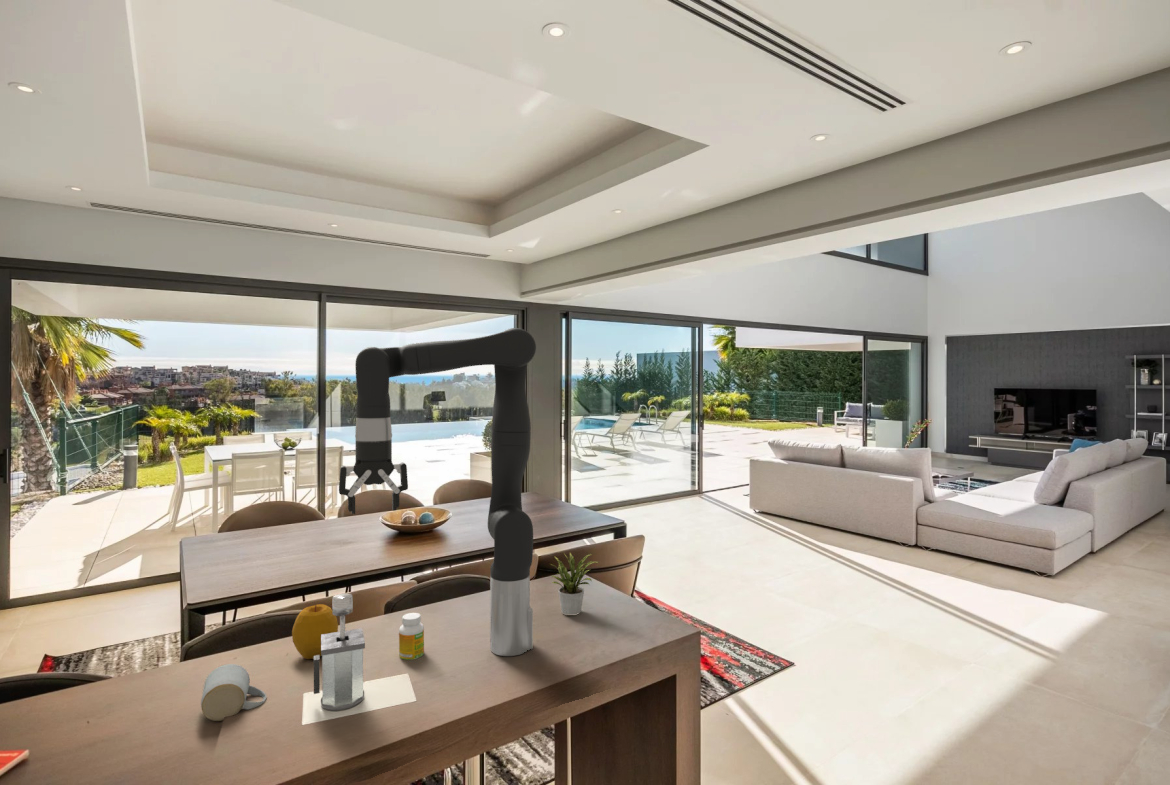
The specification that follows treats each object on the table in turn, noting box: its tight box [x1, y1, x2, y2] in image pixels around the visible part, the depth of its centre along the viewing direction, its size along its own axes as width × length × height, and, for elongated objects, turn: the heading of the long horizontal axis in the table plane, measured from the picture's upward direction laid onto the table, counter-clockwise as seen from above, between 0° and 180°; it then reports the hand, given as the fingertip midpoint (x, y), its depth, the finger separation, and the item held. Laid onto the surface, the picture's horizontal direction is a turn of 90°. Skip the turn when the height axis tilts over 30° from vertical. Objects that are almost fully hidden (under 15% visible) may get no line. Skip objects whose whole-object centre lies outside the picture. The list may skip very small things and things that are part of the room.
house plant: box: [550, 552, 598, 614], centre depth 162 cm, size 14×14×16 cm
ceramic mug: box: [200, 663, 268, 722], centre depth 113 cm, size 11×8×8 cm
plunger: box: [331, 593, 354, 641], centre depth 115 cm, size 5×5×14 cm
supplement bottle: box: [398, 612, 425, 661], centre depth 135 cm, size 5×5×10 cm
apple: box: [291, 603, 339, 660], centre depth 136 cm, size 10×10×12 cm
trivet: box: [301, 672, 417, 726], centre depth 116 cm, size 20×12×1 cm, turn 114°
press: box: [313, 627, 366, 711], centre depth 115 cm, size 9×8×12 cm
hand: (373, 511), depth 131 cm, fingers open, 8 cm apart
